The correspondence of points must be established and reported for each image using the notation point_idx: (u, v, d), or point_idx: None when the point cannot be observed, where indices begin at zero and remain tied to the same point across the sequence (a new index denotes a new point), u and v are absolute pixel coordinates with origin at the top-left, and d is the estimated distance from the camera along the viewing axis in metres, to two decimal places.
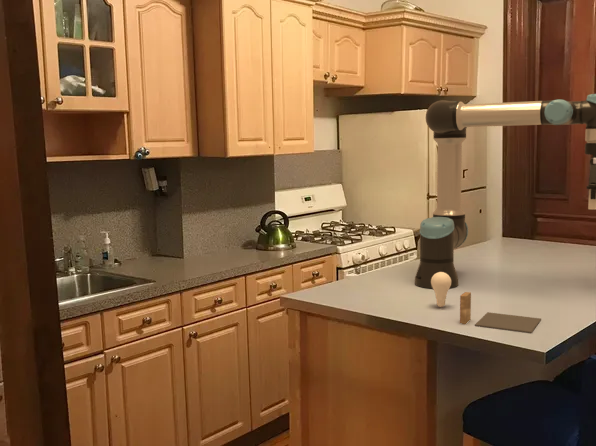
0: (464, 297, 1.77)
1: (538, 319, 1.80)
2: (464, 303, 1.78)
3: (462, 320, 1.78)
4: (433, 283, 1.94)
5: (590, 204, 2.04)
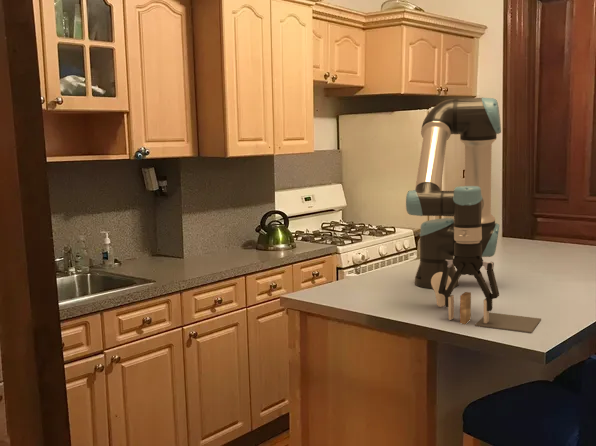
0: (464, 297, 1.77)
1: (538, 319, 1.80)
2: (464, 303, 1.78)
3: (462, 320, 1.78)
4: (433, 283, 1.94)
5: None
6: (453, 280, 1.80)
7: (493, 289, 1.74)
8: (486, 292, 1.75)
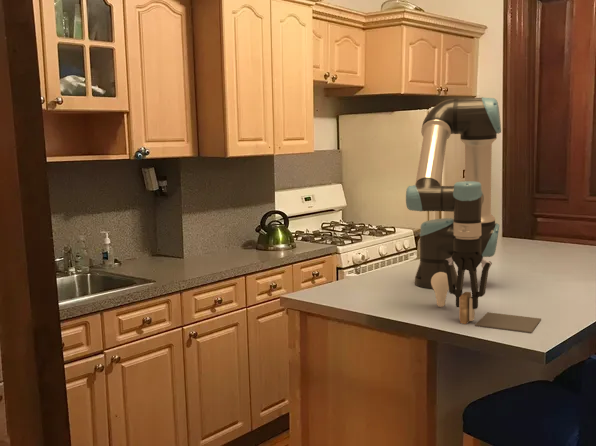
0: (464, 297, 1.77)
1: (538, 319, 1.80)
2: (464, 303, 1.78)
3: (462, 320, 1.78)
4: (433, 283, 1.94)
5: None
6: (458, 278, 1.79)
7: (481, 288, 1.76)
8: (474, 290, 1.77)
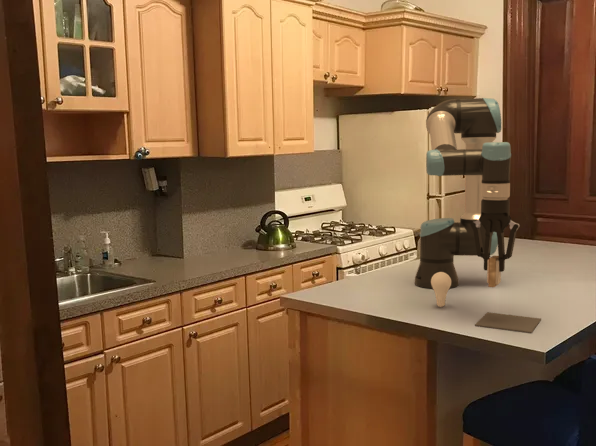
0: (493, 259, 1.75)
1: (538, 319, 1.80)
2: (493, 266, 1.75)
3: (491, 283, 1.76)
4: (433, 283, 1.94)
5: None
6: (486, 240, 1.76)
7: (509, 249, 1.74)
8: (501, 252, 1.75)
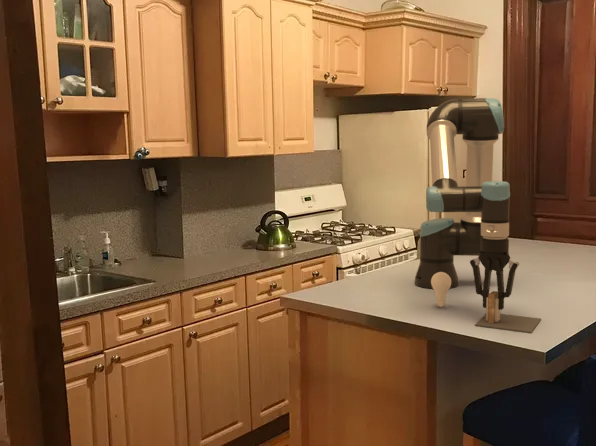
0: (492, 296, 1.76)
1: (538, 319, 1.80)
2: (492, 302, 1.76)
3: (490, 319, 1.77)
4: (433, 283, 1.94)
5: None
6: (485, 278, 1.78)
7: (508, 288, 1.75)
8: (500, 291, 1.76)
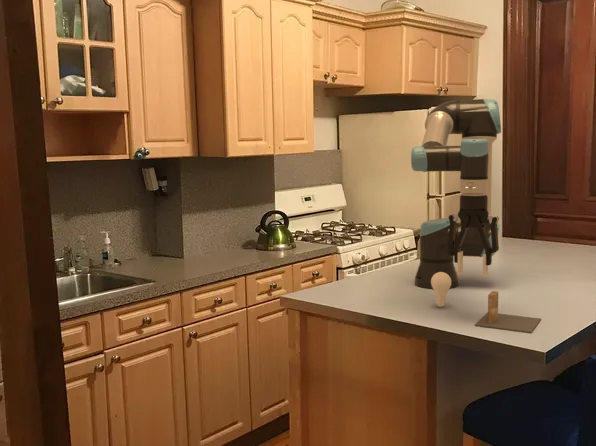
0: (492, 296, 1.76)
1: (538, 319, 1.80)
2: (492, 302, 1.76)
3: (490, 319, 1.77)
4: (433, 283, 1.94)
5: None
6: (460, 234, 1.80)
7: (494, 243, 1.76)
8: (486, 246, 1.77)
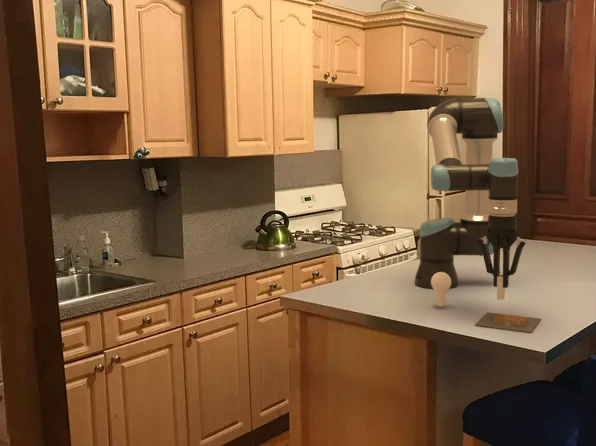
0: (522, 325, 1.73)
1: (538, 319, 1.80)
2: (516, 325, 1.74)
3: (497, 320, 1.76)
4: (433, 283, 1.94)
5: None
6: (495, 257, 1.76)
7: (513, 266, 1.74)
8: (506, 269, 1.75)
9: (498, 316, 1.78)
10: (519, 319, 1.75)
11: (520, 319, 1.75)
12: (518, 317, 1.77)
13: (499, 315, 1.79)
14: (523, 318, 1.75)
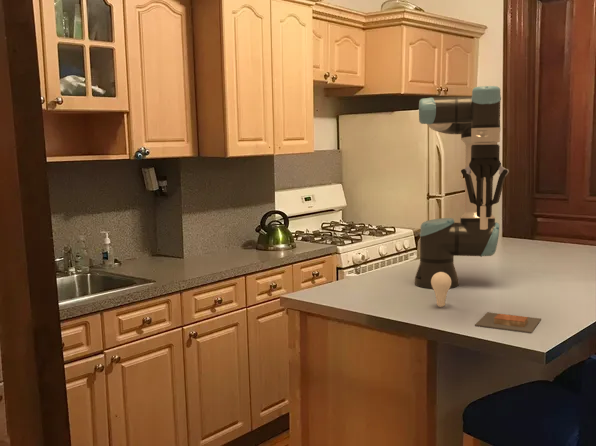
0: (522, 325, 1.73)
1: (538, 319, 1.80)
2: (516, 325, 1.74)
3: (497, 320, 1.76)
4: (433, 283, 1.94)
5: None
6: (478, 186, 1.76)
7: (496, 195, 1.74)
8: (488, 198, 1.75)
9: (498, 316, 1.78)
10: (519, 319, 1.75)
11: (520, 319, 1.75)
12: (518, 317, 1.77)
13: (499, 315, 1.79)
14: (523, 318, 1.75)
